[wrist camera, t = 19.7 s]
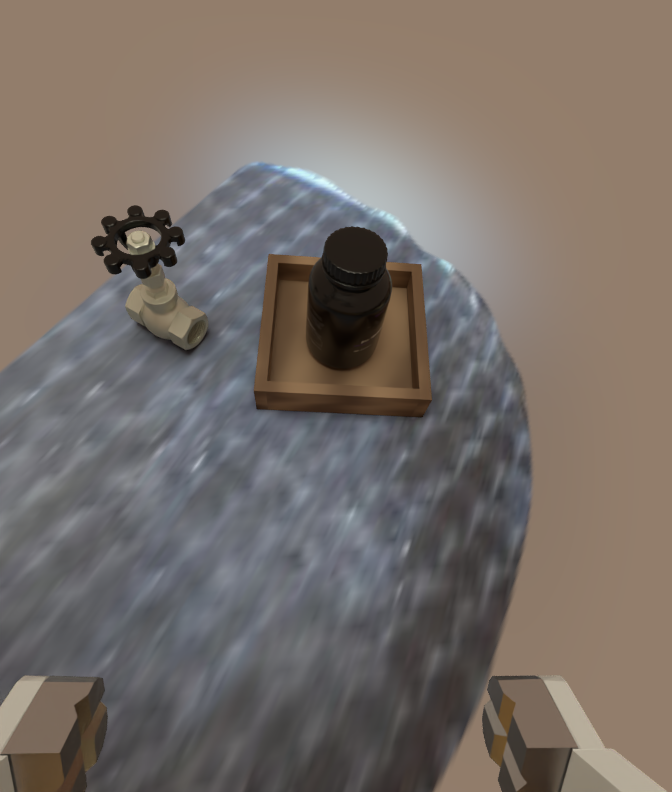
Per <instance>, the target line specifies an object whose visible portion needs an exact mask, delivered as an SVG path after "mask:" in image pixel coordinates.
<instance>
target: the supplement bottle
mask: <svg viewBox="0 0 672 792" xmlns="http://www.w3.org/2000/svg"><path fill="white" fill-rule="evenodd" d="M387 257H388V253H387V247H386V244H385V243H384V242H383V239H381V238H380V236H379V235H376V233H375V232H372V231H370V230H367V229H365V228H360V227H345V228H340V229H339V230H336V231H335V232H334V233H332V234H331V235H330V236H329V237H328V238H327V240H326V242H325V246H324V251H323V255H322V257H321V258H320V259H319V260H318V261H317V262H316V263H315V265H314V266H313V268H312V270H311V272H310V275H309V282H308V299H307V318H306V342H307V346H308V348H309V350H310V352H311V353H312V355H313V356H314V357H315V358H316V359H317V360H319V361H320V362H321V363H323V364H325V365H327V366H330V367H333V368H338V369H348V368H353V367H357V366H359V365H361V364H363V363H365V362H366V361H367V360H368V359H369V358H370V357H371V356H372V355H373V353H374V351H375V349H376V346H377V343H378V340H379V337H380V333H381V329H382V326H383V322H384V319H385V315H386V312H387V308H388V305H389V301H390V298H391V293H392V280H391V277H390V274H389V272H388V270H387V268H386V263H387Z"/></svg>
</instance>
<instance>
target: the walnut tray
mask: <svg viewBox="0 0 672 792" xmlns="http://www.w3.org/2000/svg"><path fill="white" fill-rule="evenodd" d="M319 259H320V258H319V257H304V256H289V255H274V254H269V256H268V265H267V274H266V283H265V293H264V302H263V311H262V320H261V330H260V339H259V348H258V357H257V366H256V376H255V385H254V395H255V401H256V407H257V409H267V410H287V411H308V412H328V413H348V414H368V415H389V416H409V417H423V415H424V413H425V411H426V410H427V408H428V406H429V404H430V402H431V401H432V396H431V383H430V370H429V357H428V344H427V332H426V319H425V306H424V293H423V280H422V268H421V264H408V263H393V262H387V263H386V268H387V270H388V272H389V274H390V277H391V280H392V293H391V298H390V301H389V305H388V308H387V312H386V315H385V319H384V322H383V326H382V329H381V333H380V337H379V340H378V343H377V346H376V349H375V351H374V353H373V355H372V356H371V357H370V358H369V359H368V360H367V361H366V362H365V363H363V364H361V365H359V366H357V367H353V368H348V369H338V368H333V367H330V366H327V365H325V364H323V363H321V362H320V361H319V360H317V359H316V358H315V357H314V356H313V355H312V353H311V352H310V350H309V348H308V346H307V342H306V318H307V299H308V282H309V275H310V272H311V270H312V268H313V266H314V265H315V263H316V262H317V261H318V260H319Z"/></svg>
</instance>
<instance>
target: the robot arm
mask: <svg viewBox="0 0 672 792" xmlns="http://www.w3.org/2000/svg"><path fill="white" fill-rule="evenodd" d="M487 690H488V693H489V695H490V698H491V700H490V701H489V702H488V703H487V704H485V705H484V710H483V716H482V722H483V734H484V738H485V743H486V747H487V750H488V753H489V756H490V758H491V759H493V761H495V763H496V764H498V765H499V766H500V773H499V777H498V782H499V784H500V787H501V790H502V792H667V791H666V790H664V789H663V788H662V787H661V786H659V785H658V784H657V783H656V782H654V781H653V780H652V779H651V778H649V777H648V776H647V775H646V774H644V773H643V772H642V771H640V770H639V769H638V768H637V767H635V766H634V765H633V764H632V763H630V762H629V761H628V760H627V759H625V758H624V757H623V756H621V755H620V754H619V753H618V752H616V751H615V750H614V749H606V748H605V746H604V745H603V743H602V741H601V740H600V738H599V736H598V734H597V733H596V731H595V729H594V728H593V726H592V724H591V722H590V721H589V719H588V717H587V716H586V714H585V713H584V711H583V709H582V707H581V706H580V704H579V702H578V700H577V699H576V697H575V695H574V694H573V692H572V690H571V689H570V687H569V685H568V684H567V682H566V680H565V679H564V678H563V677H561V676H492V677H491V679H490V680H489V684H488V689H487ZM104 691H105V689H104V682H103V678H100V677H73V676H23V677H22V678H21V679H20V680H19V681H18V682H16V684H15V685H14V687H13V688H12V690H11V691H10V693H9V694H8V696H7V697H6V699H5V700H4V702H3V703H2V705H1V706H0V792H85V790H86V787H87V782H86V774H85V772H86V771H88V770H89V769H90V768H91V767H92V766H93V765H94V764H95V763H96V762H97V760H98V757H99V755H100V752H101V750H102V747H103V743H104V739H105V735H106V730H107V719H108V716H107V707H106V706H105V705H104V704H103V703H102V702H101V698H102V696H103V694H104Z"/></svg>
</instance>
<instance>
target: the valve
mask: <svg viewBox="0 0 672 792" xmlns="http://www.w3.org/2000/svg"><path fill="white" fill-rule="evenodd" d="M127 212H128V215H129V217H128V219H125V220H122V221H117V220H116V218H115V217H113V216H107V217H104V218H103V219H102V221H101V223H102V226H103V228H104V230H105V232H106V234H108V236H106V237H102V236H97V237H94V238H93V239H92V240H91V245H92V247H93V249H94V251H95V253H96V254H97V255H99V256H104V253H103V251H106V250H108V251H110V252H111V254H110V255H107V256H106V257H105V258H104V264H105V266H106V268H107V270H108V272H109V273H111V274H119V273H121V272H122V271H121V269H120V267H121V265H122V264H126V265H131V267H132V269H133V271H134V272H135V274H136V276H137V277H138V278H140V279H141V281H142V283H143V284H141V285H138V286H136V287H135V288H134V289H133V290H132V292H131V293H130V295H129V297H128V299H127V302H126V306H125V307H126V310H127V312H128V314H129V316H130V317H131V319H133V320H134V321H136V322H138V323H140V324H141V325H143V326H146V327H147V328H148V330H149V331H150V332H152V333H153V334H154V335H156V336H158V337H160V338H163V339H171V340H172V342H173V343H174V344H176V345H178V346H179V347H181V348H183V349H185V350H189V349H191V348H194V347H195V346H197V345H198V344H199V343H200V342H201V340H202V339H203V337H204V336H205V334H206V331H207V328H208V319H207V316H206V314H205V313H204V312H202V311H200V310H198V309H197V308H195V307H193V306H190V307H189V305H188V304H187V302H186V301H185V300H183V299H182V298H181V297H179V296H178V293H177V290H176V287H175V285H174V283H173V282H172V281H170V280H169V279H167V278H165V274H164V272H163V269H162V266H161V265H159V264H158V262H159V259H161V260H162V261H163V263H164V266H167V267H172V266H174V265H175V264H176V263H177V257H176V254H175V251H174V249H173V248H171V247H170V244H171V242H177V245H178V246H181V245H183V244H184V243H185V237H184V234H183V230H182V229H181V228H180V227H171V225H172V222H171V218H170V215H169V213H168V211H165V210H159V211H157V212H156V213H155V215H154V217H145V216H144V213H143V210H142V208H141V207H139V206H136V205H134V206H131V207H130V208H128V211H127ZM165 225H167V226H169V227H171V228H170V229H167V228H166V227H165ZM136 227H147V228H152V229H154V230H156V231H157V232H158V233H159V234H160V235H161V241H160V243H159V244H158V245H156V246H155V244H154V242H153V241H152V239H151V236H150V235H149V234H147V233H145V232H144V231H136V232H133V233H130V234H129V235H128V238H127V237H126V234H125V232H126V231H128V230H130V229H132V228H136ZM118 240H119V241H120V243H121V244H122V245H123V246H124V247H125V248H126V249H127V250H128V251H129V253H130V254H126V253H124V252H122V251H120V250H119V249H118V248H117V241H118Z"/></svg>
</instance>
